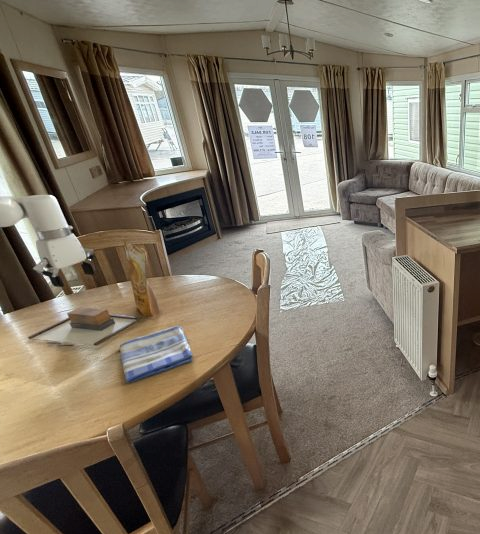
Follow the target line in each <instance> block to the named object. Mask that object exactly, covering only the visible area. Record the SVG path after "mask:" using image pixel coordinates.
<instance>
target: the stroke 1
mask: <svg viewBox="0 0 480 534" xmlns="http://www.w3.org/2000/svg"><path fill="white" fill-rule="evenodd" d="M47 344H53V345H63V342H58V341H48V342H47Z"/></svg>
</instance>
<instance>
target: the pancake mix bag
mask: <svg viewBox="0 0 480 534" xmlns="http://www.w3.org/2000/svg"><path fill="white" fill-rule="evenodd" d="M121 242H122V245H123V247H124V251H125V256H126V259H127V263H128V269H129V278H130V283H131V288H132V293H133V294H132V295H133V297H134V298H133V299H134V303H135V307H136V308H137V309H138V310H139V311H140V312H141V314H142V315H143V316H145V317H150V316H151V317H155V316H156V315H157V313H158V312H159V311H160V310H159V309H160V308H159V303H158V299H157V297H156V295H155V294H156V293H155V292H154V290H153V288H152V287H151V284H150V282H149V281H148V279H147V277H148V276H147V259H148V252H147V250H145V249H144V248H143V247H141V246H138V245H136V244H134V242H130V241H128V240H126V239H122V240H121Z"/></svg>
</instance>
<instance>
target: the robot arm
mask: <svg viewBox="0 0 480 534" xmlns="http://www.w3.org/2000/svg"><path fill="white" fill-rule="evenodd" d="M23 219H28V220H29V222H30V225H31V226H32V228H33V230H34V233H35V235H36V236H37V237H36V238H37V240H35V244H36V250H37V254H38V257H39V259H40V260H39V262H38V263H37V264H36V265H35V266H34V267H32V270H33V271H35V272H36V273H38V274H39V275H43V276H44V277H48V278H49V281H50V283H51V284H52V285H53V287H57V288H64V287H65V283H64V282H63V280H62V278H61V276H60V275H58V274H59V271H60V270H61V269H66V268H68V267H71V266H73V265H76V264H79V263H81V265H80V266H81V269H82V270H83V273H84V275H90V276H94V275H95V272H94V268H93V266H92V264H93V259H94V258H95V257H94V253H95V249H92V248H86V247H85V248H84V247H83V245H82V244H81V242H80V240H79V239H78V237H77V236H76V235H75V234H74V233H72V230H73V229H74V227H73V226H72V225H68V223H67V220H66V218H65V216H64V213H63V211H62V209H61V207H60V204H59V201H58V199H57V198H56V197H55V196H54V195H51V194H34V195H28V196H12V195H11V196H9V195H8V196H7V195H6V196H0V228H7V227H8V228H9V227H12V226H15V225H16V224H17V223H18V222H20V221H21V220H23ZM45 269H47V270H45Z"/></svg>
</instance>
